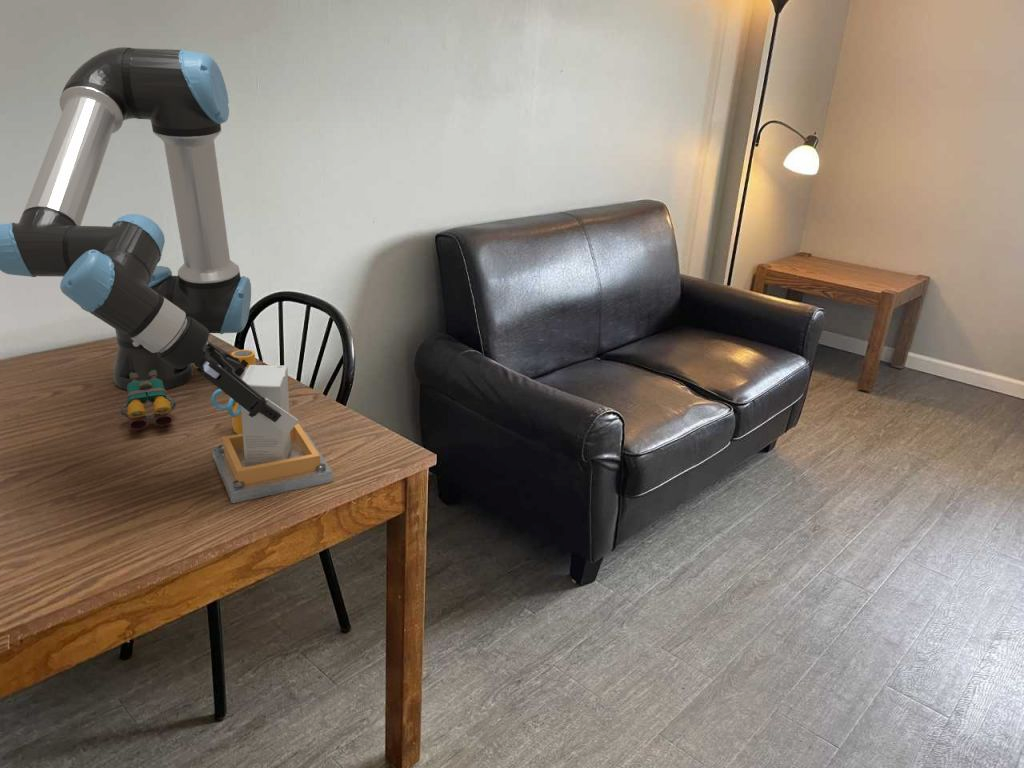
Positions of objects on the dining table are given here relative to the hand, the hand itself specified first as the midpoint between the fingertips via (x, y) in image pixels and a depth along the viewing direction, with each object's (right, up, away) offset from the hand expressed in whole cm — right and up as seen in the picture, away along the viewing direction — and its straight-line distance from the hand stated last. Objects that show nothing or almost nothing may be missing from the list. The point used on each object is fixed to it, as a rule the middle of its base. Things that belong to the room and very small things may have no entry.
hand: (282, 410), depth 124 cm
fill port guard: (-3, -8, +2) cm, 9 cm away
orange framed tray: (-3, -10, +3) cm, 11 cm away
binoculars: (-29, -4, +15) cm, 33 cm away
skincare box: (-3, -8, +2) cm, 9 cm away
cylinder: (-11, -4, +17) cm, 20 cm away
